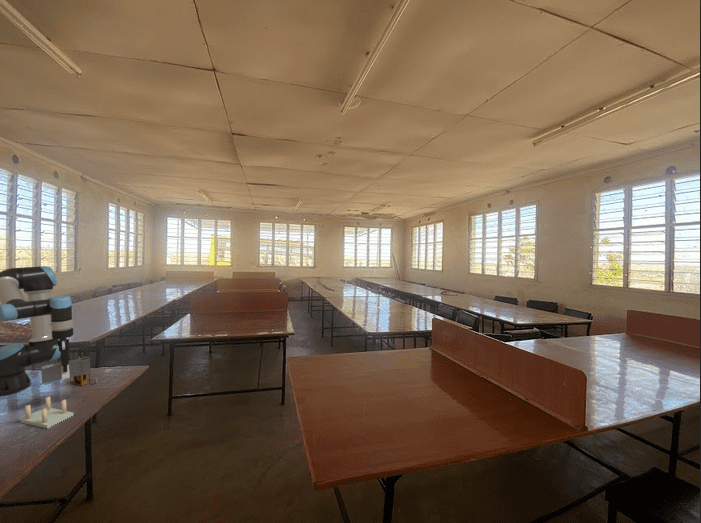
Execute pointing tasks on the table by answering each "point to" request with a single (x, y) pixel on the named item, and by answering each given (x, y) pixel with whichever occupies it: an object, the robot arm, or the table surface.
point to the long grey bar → (75, 369)
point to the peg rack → (46, 415)
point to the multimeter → (81, 376)
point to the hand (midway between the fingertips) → (65, 376)
